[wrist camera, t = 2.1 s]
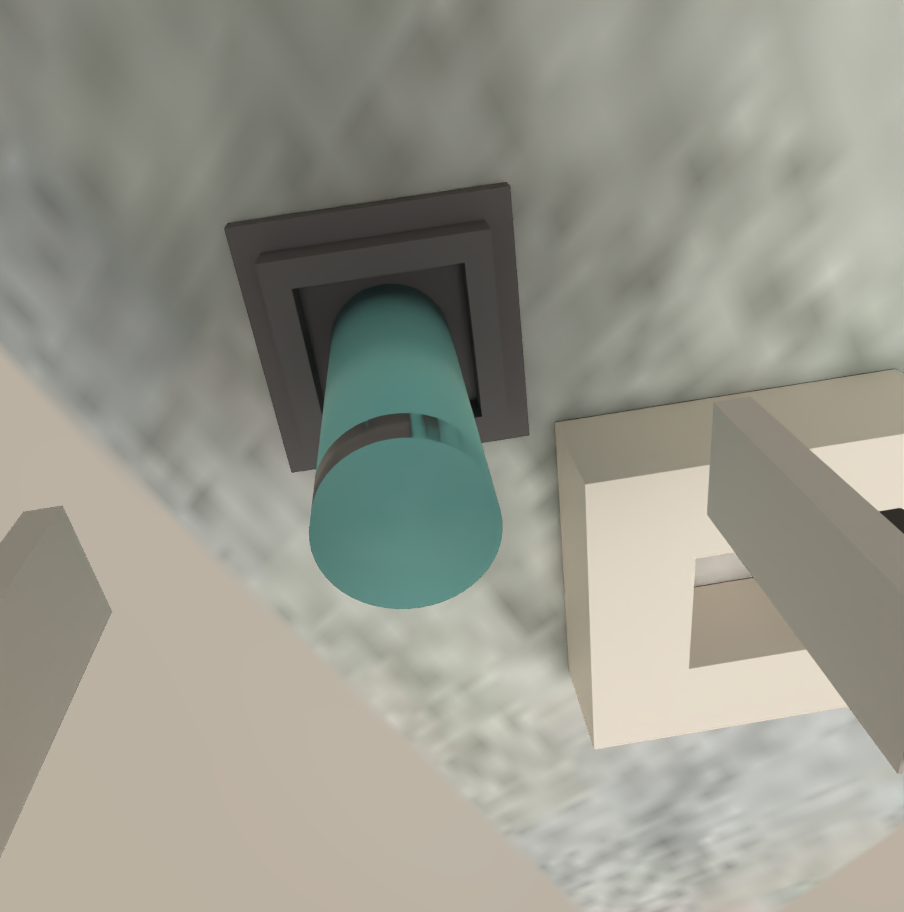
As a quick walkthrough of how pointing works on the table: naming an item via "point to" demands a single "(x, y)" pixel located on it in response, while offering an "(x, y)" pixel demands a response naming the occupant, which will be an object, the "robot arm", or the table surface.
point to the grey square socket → (374, 263)
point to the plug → (400, 459)
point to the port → (674, 555)
